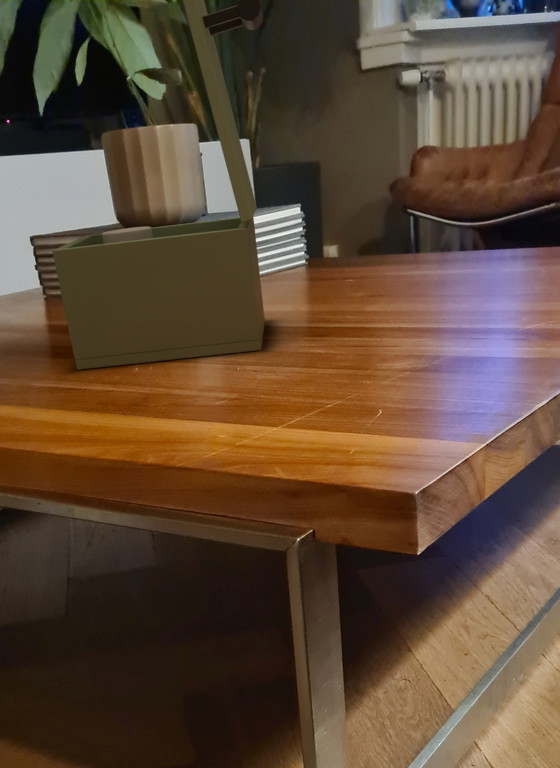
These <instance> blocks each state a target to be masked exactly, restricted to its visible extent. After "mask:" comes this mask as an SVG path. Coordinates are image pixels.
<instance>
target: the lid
mask: <svg viewBox="0 0 560 768" xmlns="http://www.w3.org/2000/svg"><path fill="white" fill-rule="evenodd" d="M182 2H183V7H184V10H185V14H186V18H187V21H188V25H189V29H190V33H191V36H192V41H193V44H194V49H195V52H196V56H197V59H198V63H199V67H200V71H201V75H202V79H203V83H204V86H205V91H206V95H207V98H208V101H209V106H210V108H211V112H212V113H211V114H212V117H213V120H214V125H215V128H216V132H217V136H218V139H219V143H220V147H221V151H222V155H223V159H224V162H225V166H226V170H227V174H228V178H229V181H230V185H231V188H232V189H231V190H232V193H233V196H234V201H235V204H236V208H237V212H238V215H239V216H238V217H240V219H241V222H246V221H249V220H251V219H252V217H253V218H254V215H255V213H256V211H257V209H258V206H257V203H256V199H255V195H254V191H253V187H252V184H251V183H252V182H251V179H250V174H249V171H248V167H247V163H246V160H245V155H244V151H243V147H242V143H241V139H240V135H239V131H238V127H237V124H236V120H235V116H234V112H233V108H232V104H231V101H230V96H229V92H228V89H227V85H226V81H225V77H224V73H223V68H222V65H221V61H220V57H219V53H218V49H217V44H216V42H215V37H214V36H215V35H219V34H222V33H226V32H228V31H232V30H234V29H237V28H241V27H245V28H246V29H247V30H249V31H255V30H257V29H259V27H261V25H262V23H263V18H264V17H263V11H262V7H261V6H262V5H261V2H260V0H238V1H237V4H236V5H234V6H229V7H227V8H224V9H221V10H218V11H214V12H211V13H208V10H207V7H206V1H205V0H182Z"/></svg>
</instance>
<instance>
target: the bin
mask: <svg viewBox="0 0 560 768" xmlns="http://www.w3.org/2000/svg"><path fill="white" fill-rule="evenodd" d="M254 219H255V218H254V216H253V217H252V219H251V220H249V221H246V222H241V219H240V216H238V217H232V218H230V217H229V218H224V219H223V218H221V219H214V220H204V221H197V222H196V221H195V222H187V223H180V224H172V225H163V226H162V225H161V226H154V227H151V229H152V234H153V238H150V239H142V240H133V241H124V242H116V243H107V244H104V243H103V236H102V233H103V232H102V233H94V234H93V233H92V234H85V235H83V236H82V237H81V236H80V237H79V238H77V239H74V240H73V241H71V242H68V243H67V244H65V245H62V246H59V247H58V248H55V249H53V250H52V251H51V252H52V256H53V261H54V266H55V272H56V277H57V280H58V281H57V282H58V285H59V291H60V296H61V300H62V305H63V310H64V315H65V319H66V324H67V329H68V334H69V339H70V343H71V348H72V354H73V358H74V363H75V367H76V371H80V370H82V371H83V370H88V369H100V368H109V367H117V366H126V365H138V364H147V363H155V362H163V361H165V362H166V361H173V360H183V359H184V360H185V359H191V358H192V359H193V358H202V357H203V358H204V357H210V356H221V355H230V354H238V353H247V352H257V351H261V350H262V347H263V338H264V331H265V322H266V319H265V309H264V302H263V292H262V290H263V289H262V283H261V272H260V264H259V263H260V262H259V256H258V246H257V236H256V229H255V228H256V227H255V220H254Z"/></svg>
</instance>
